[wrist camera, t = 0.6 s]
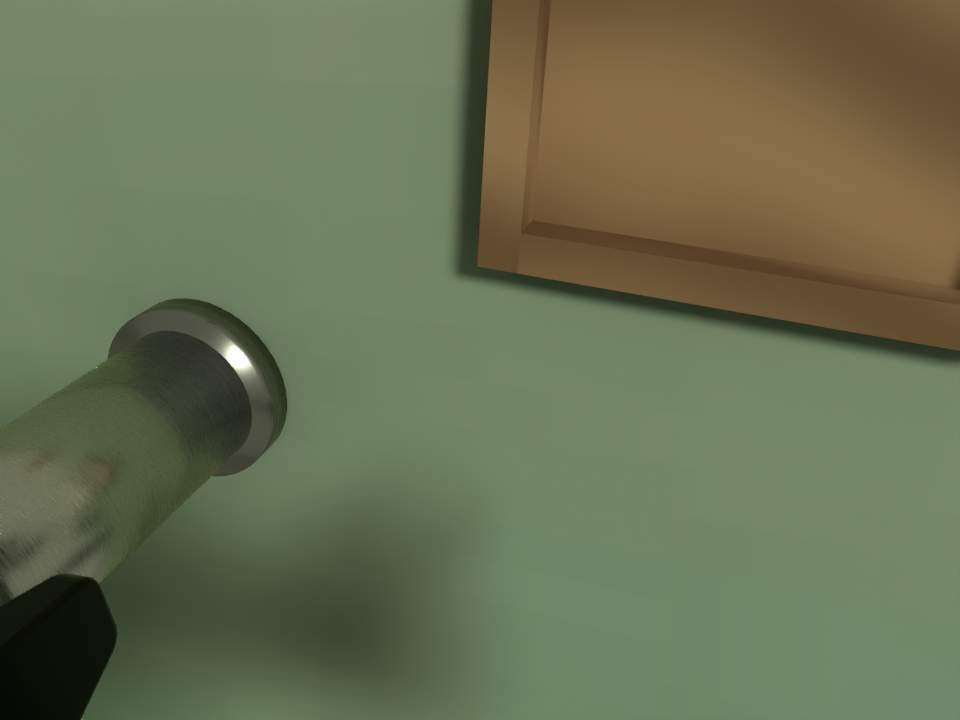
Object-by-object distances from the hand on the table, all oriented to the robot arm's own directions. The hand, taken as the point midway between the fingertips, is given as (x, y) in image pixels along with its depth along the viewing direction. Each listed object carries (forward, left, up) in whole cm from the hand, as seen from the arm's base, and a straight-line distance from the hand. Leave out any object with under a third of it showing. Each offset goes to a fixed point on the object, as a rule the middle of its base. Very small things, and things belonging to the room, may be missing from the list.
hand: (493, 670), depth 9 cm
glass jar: (-7, +13, -14) cm, 20 cm away
